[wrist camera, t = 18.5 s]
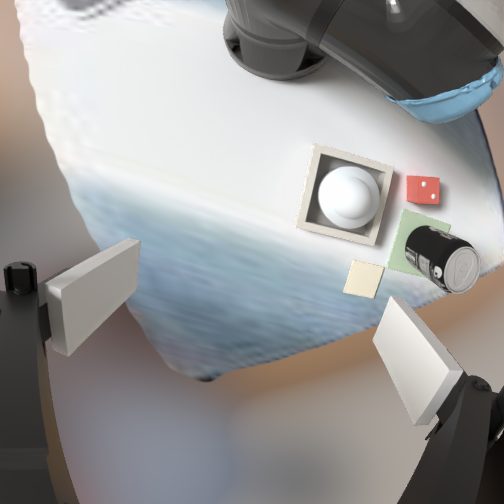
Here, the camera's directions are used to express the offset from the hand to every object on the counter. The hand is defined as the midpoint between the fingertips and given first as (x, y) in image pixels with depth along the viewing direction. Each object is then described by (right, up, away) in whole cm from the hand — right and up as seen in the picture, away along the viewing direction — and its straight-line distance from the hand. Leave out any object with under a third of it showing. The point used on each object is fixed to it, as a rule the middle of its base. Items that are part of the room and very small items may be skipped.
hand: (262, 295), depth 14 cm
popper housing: (+12, +10, +24) cm, 29 cm away
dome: (+12, +9, +22) cm, 27 cm away
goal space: (+25, +3, +25) cm, 35 cm away
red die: (+23, +11, +23) cm, 35 cm away
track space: (+16, -2, +27) cm, 31 cm away
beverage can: (+25, +3, +25) cm, 35 cm away
